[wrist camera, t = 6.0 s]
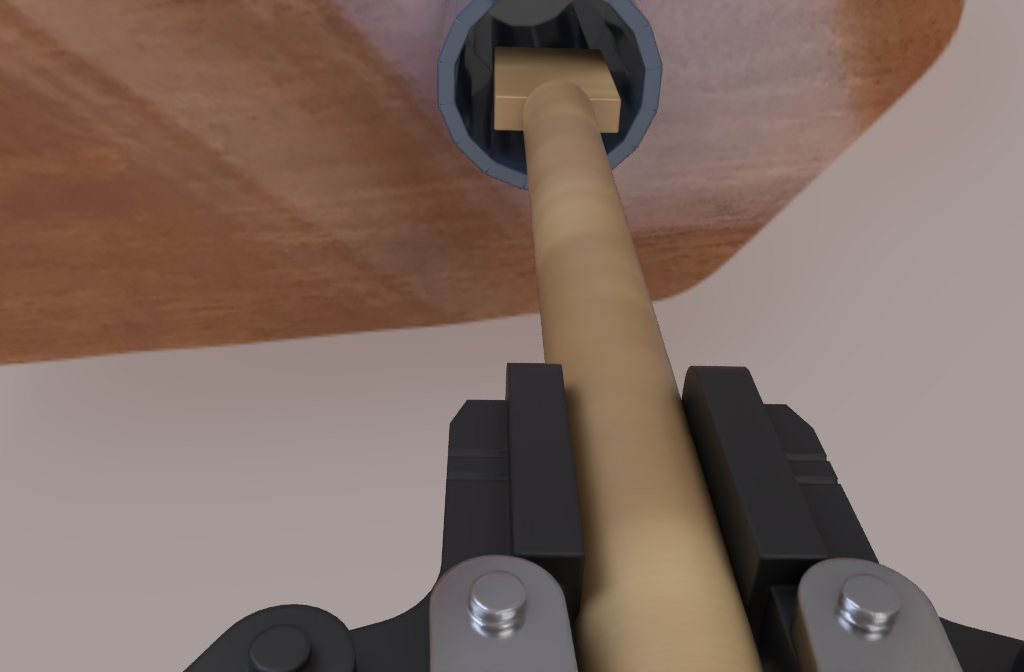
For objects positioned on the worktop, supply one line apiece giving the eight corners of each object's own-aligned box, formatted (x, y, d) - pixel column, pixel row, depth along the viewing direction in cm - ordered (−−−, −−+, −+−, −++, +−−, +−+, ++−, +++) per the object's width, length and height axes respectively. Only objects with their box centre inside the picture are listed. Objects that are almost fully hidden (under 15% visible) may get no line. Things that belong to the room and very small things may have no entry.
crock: (625, -81, 33) (674, -29, 24) (609, 93, 36) (648, 193, 28) (449, -87, 33) (436, -36, 24) (449, 89, 36) (438, 188, 27)
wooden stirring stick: (602, 33, 28) (881, 687, 8) (597, 93, 29) (836, 810, 9) (494, 30, 27) (506, 684, 8) (492, 90, 28) (501, 811, 9)
